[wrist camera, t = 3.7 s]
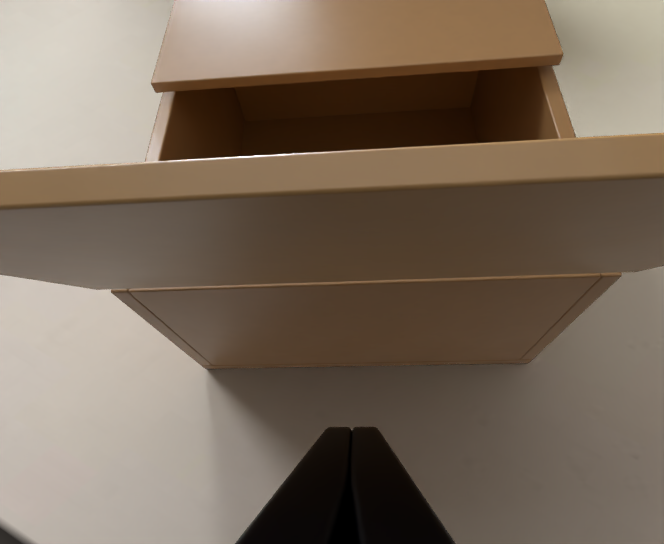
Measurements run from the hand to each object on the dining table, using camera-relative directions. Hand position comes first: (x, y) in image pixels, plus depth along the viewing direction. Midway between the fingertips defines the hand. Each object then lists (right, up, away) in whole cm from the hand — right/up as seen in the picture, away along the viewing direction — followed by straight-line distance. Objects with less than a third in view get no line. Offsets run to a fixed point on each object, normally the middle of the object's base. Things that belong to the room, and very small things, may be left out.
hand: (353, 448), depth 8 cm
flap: (0, +4, 0) cm, 4 cm away
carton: (+1, +5, +14) cm, 15 cm away
